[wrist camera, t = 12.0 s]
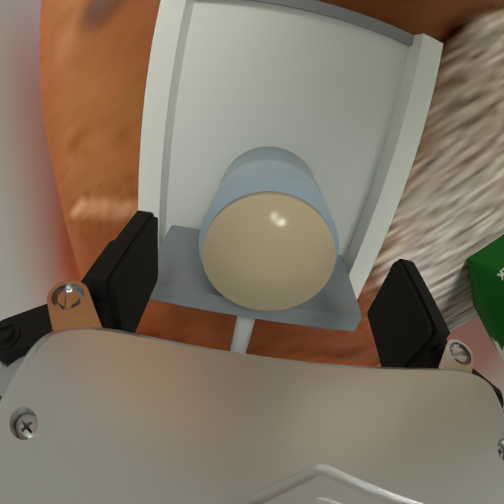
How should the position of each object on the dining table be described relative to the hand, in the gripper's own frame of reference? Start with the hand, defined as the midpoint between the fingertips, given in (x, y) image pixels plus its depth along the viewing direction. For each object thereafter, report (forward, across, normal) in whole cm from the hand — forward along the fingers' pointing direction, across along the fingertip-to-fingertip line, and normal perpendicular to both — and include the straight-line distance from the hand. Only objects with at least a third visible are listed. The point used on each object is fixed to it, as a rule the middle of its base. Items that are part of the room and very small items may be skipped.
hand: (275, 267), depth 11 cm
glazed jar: (+10, 0, +1) cm, 10 cm away
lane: (+10, 0, -2) cm, 10 cm away
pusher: (+9, 0, +9) cm, 13 cm away
